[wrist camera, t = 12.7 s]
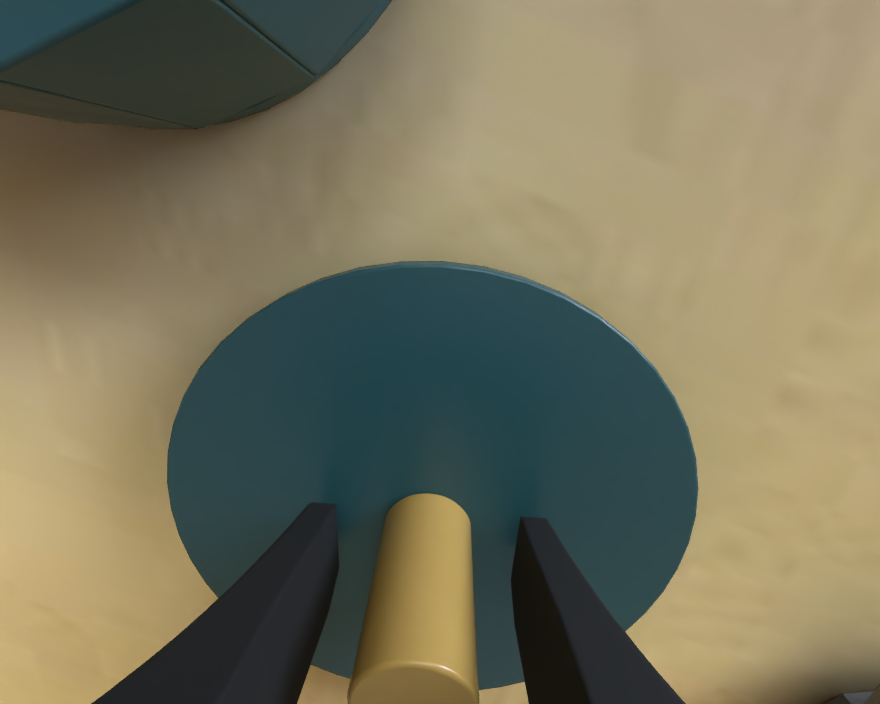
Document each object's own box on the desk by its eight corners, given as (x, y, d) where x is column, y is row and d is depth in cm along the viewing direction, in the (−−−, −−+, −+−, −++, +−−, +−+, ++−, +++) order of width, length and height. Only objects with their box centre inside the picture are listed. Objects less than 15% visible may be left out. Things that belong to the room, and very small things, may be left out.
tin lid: (226, 641, 14) (110, 871, 9) (148, 239, 9) (-170, 290, 5) (619, 669, 14) (703, 917, 9) (744, 274, 9) (1054, 365, 4)
